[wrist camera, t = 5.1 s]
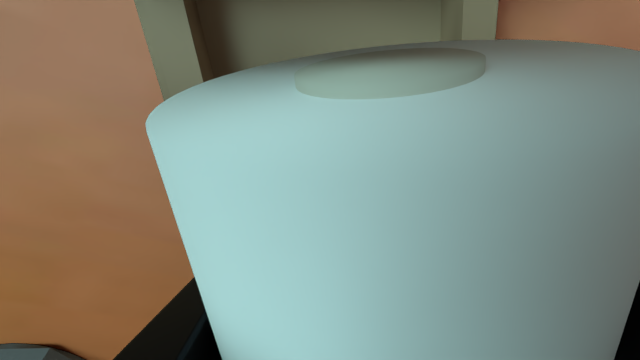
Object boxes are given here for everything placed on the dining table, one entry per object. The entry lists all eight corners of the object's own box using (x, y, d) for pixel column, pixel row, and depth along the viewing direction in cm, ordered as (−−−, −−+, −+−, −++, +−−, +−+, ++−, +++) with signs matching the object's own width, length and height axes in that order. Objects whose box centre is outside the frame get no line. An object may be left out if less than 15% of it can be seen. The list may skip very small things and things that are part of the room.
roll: (467, 319, 11) (642, 607, 6) (270, 352, 11) (263, 687, 6) (490, 23, 8) (990, 66, 2) (198, 62, 7) (-11, 216, 2)
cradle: (461, 283, 18) (519, 375, 14) (236, 318, 18) (221, 424, 13) (489, -151, 11) (632, -256, 7) (113, -108, 11) (-8, -188, 6)
